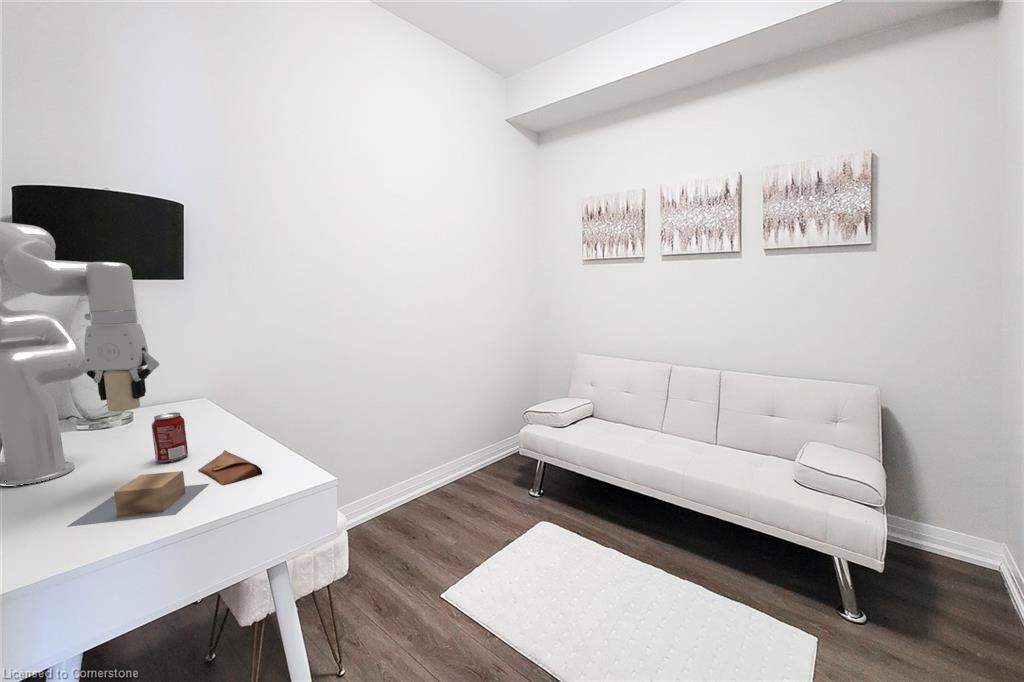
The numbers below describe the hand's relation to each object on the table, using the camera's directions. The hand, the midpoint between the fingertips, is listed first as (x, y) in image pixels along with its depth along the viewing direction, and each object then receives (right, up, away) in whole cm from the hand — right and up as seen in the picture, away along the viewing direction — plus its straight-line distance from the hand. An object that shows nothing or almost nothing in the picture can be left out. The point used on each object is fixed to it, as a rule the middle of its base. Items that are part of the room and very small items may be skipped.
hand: (123, 397), depth 98 cm
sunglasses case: (+19, -20, +6) cm, 29 cm away
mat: (+12, -21, -9) cm, 26 cm away
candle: (0, -3, 0) cm, 3 cm away
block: (+14, -21, -9) cm, 27 cm away
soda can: (-2, -19, +17) cm, 25 cm away
